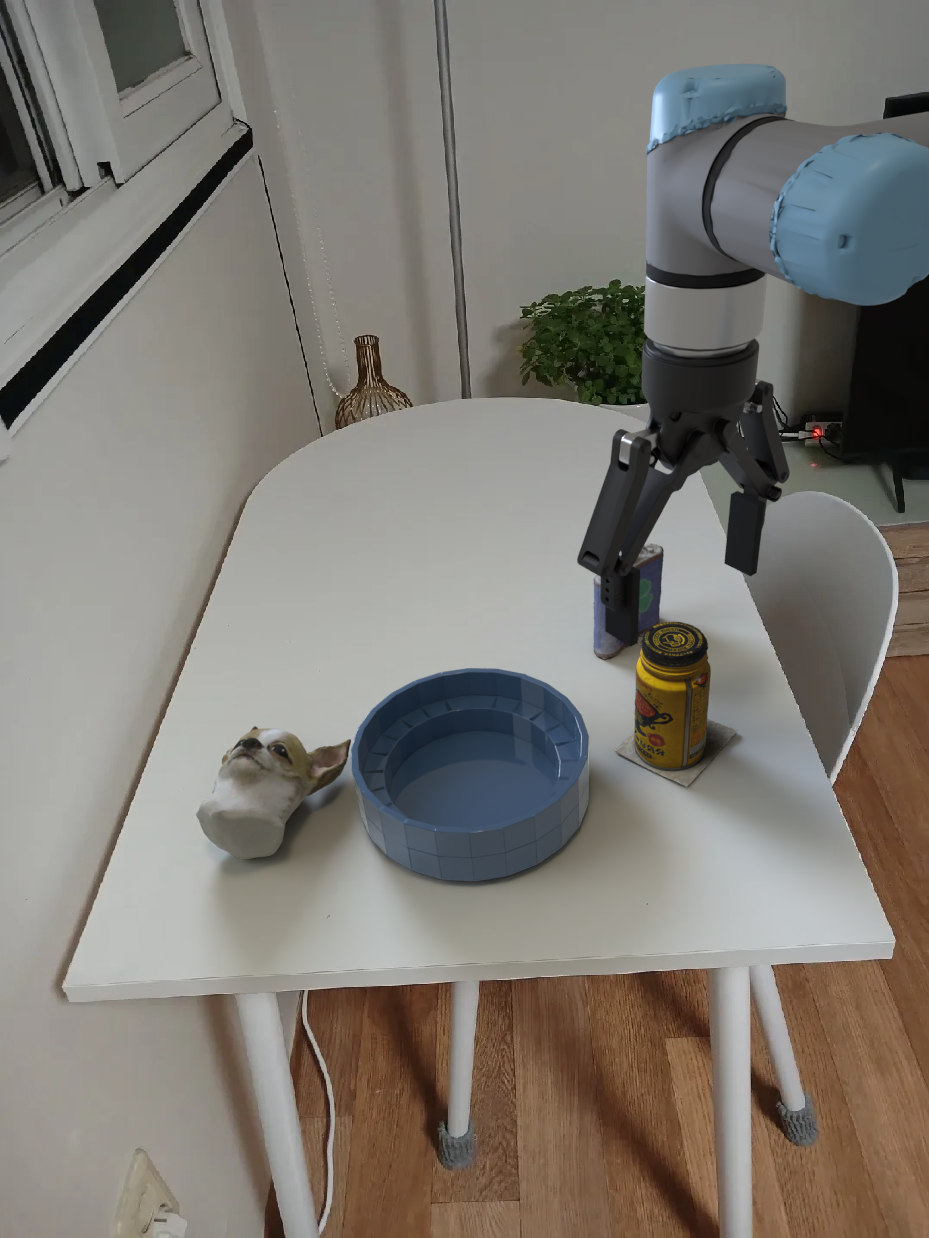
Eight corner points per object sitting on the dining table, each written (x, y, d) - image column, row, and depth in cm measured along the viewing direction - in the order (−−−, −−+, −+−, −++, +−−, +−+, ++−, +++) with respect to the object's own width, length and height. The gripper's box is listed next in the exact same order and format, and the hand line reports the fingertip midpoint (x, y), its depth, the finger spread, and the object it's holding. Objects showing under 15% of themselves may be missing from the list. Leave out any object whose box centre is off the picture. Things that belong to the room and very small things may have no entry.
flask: (607, 663, 93) (607, 571, 87) (584, 651, 95) (583, 560, 89) (666, 621, 98) (670, 531, 92) (643, 610, 100) (646, 522, 94)
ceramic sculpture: (145, 788, 72) (236, 674, 84) (171, 869, 76) (254, 750, 88) (275, 809, 69) (349, 688, 81) (293, 892, 74) (361, 765, 86)
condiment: (613, 752, 83) (614, 643, 76) (666, 701, 88) (671, 594, 81) (686, 789, 79) (694, 677, 72) (737, 733, 84) (750, 623, 77)
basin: (637, 800, 78) (639, 747, 75) (451, 929, 70) (443, 876, 66) (492, 690, 91) (487, 640, 88) (320, 787, 83) (307, 736, 79)
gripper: (776, 280, 71) (748, 526, 83) (518, 378, 59) (531, 646, 72) (865, 300, 66) (822, 559, 78) (603, 412, 54) (601, 694, 67)
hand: (683, 601), depth 75 cm, fingers open, 13 cm apart
